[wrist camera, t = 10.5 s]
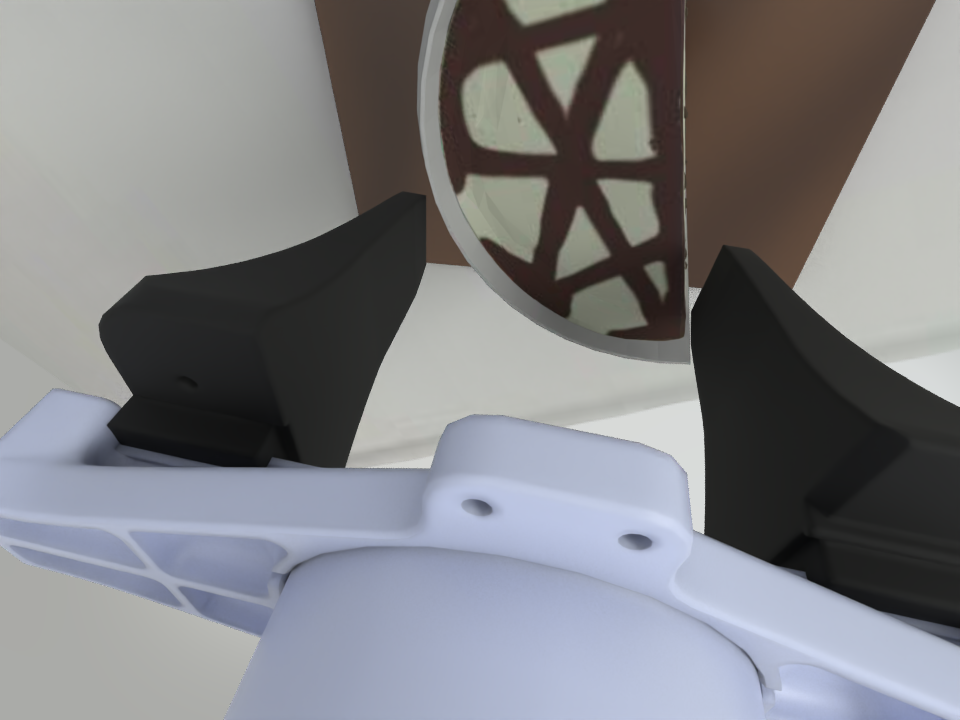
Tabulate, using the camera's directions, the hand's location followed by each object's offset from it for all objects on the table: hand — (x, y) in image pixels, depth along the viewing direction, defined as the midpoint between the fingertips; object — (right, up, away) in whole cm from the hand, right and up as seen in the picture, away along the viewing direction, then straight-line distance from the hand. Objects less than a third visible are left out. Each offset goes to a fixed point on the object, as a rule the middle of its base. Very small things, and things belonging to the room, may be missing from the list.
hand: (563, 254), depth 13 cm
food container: (+2, +8, +5) cm, 10 cm away
